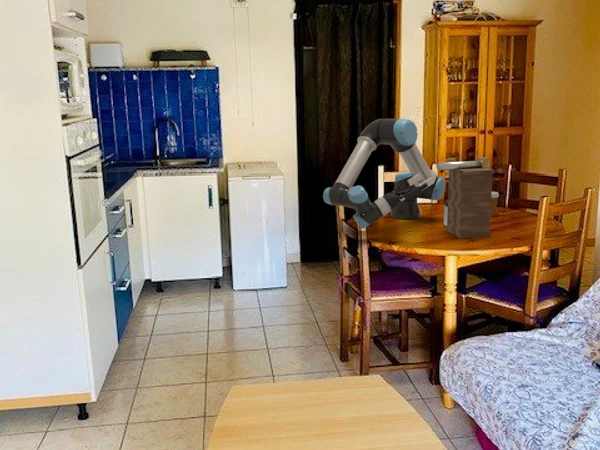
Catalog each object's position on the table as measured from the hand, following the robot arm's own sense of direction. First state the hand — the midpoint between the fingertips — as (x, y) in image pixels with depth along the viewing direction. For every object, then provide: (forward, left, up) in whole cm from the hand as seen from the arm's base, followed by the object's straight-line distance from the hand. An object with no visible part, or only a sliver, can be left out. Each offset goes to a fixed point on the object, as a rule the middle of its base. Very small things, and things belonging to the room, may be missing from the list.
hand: (426, 177), depth 263 cm
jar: (-18, +22, -27) cm, 39 cm away
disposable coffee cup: (-34, +49, -27) cm, 65 cm away
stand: (0, +21, -27) cm, 34 cm away
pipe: (0, +17, +3) cm, 17 cm away
